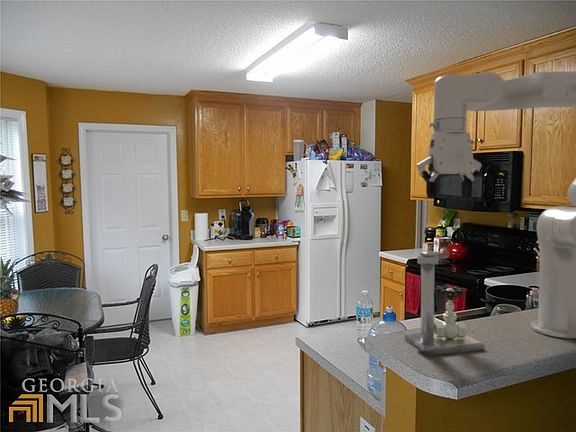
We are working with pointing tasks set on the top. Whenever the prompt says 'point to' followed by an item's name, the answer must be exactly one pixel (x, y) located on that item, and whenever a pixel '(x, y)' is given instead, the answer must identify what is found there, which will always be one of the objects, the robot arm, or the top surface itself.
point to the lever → (433, 258)
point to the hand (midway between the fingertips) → (449, 197)
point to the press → (427, 337)
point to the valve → (450, 315)
